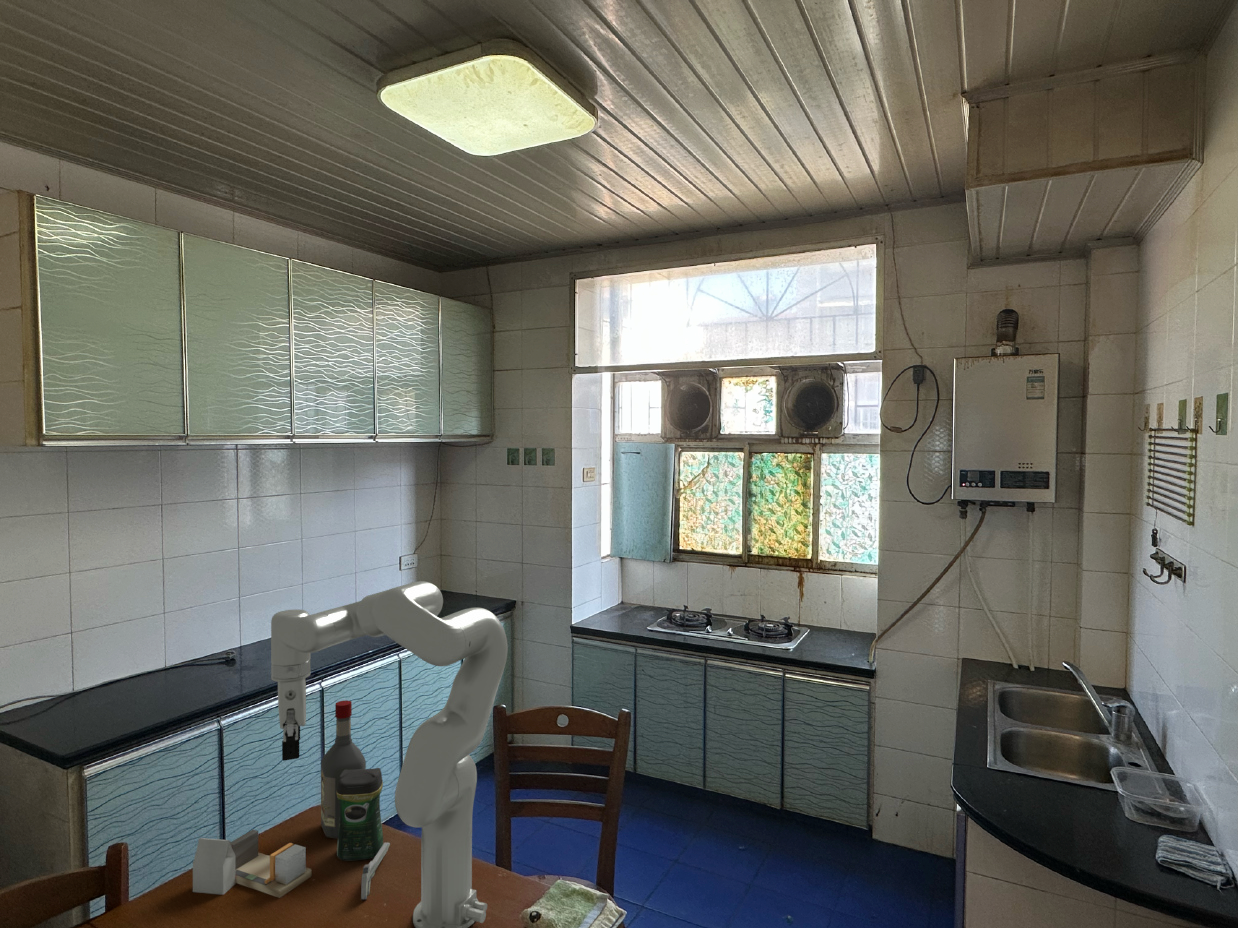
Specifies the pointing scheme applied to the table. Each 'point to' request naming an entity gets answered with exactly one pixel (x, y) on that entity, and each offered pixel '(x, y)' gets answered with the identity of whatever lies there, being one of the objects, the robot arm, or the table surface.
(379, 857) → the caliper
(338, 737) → the liquor
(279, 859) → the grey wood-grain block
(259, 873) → the board
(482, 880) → the table surface
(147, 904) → the table surface
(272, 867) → the orange rectangular slab
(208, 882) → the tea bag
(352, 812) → the coffee jar
